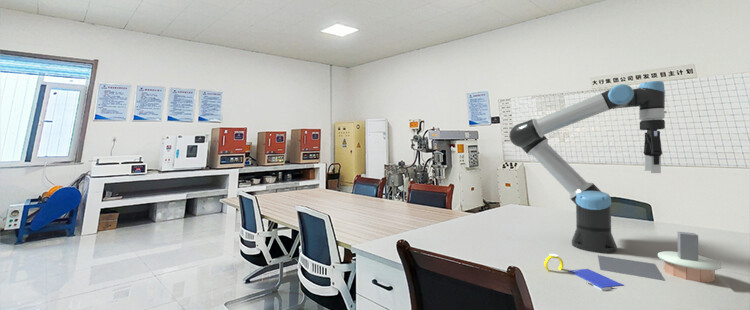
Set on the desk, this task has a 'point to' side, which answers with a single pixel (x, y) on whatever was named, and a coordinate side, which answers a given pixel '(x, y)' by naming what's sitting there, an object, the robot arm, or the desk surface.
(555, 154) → the robot arm
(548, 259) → the yellow curved ring
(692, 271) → the bowl
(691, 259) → the lid
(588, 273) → the hard drive
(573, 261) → the desk surface
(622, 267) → the mat
